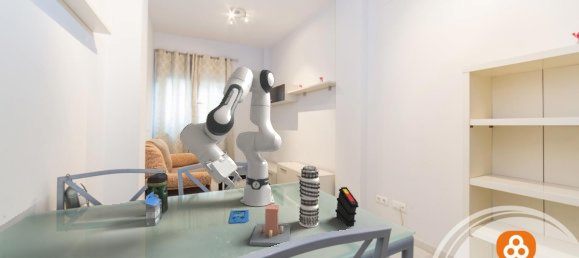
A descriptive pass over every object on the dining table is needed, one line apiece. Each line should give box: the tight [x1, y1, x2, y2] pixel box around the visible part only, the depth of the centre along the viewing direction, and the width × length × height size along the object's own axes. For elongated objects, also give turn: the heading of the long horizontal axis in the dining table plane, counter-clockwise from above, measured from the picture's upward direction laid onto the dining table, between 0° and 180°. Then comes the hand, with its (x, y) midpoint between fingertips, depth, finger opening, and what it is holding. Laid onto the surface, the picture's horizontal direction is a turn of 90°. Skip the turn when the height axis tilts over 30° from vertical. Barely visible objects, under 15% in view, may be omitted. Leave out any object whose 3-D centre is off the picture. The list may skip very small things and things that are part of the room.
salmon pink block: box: [264, 204, 279, 236], centre depth 94 cm, size 5×5×10 cm
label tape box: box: [145, 191, 163, 227], centre depth 105 cm, size 9×4×12 cm, turn 12°
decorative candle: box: [298, 165, 321, 228], centre depth 106 cm, size 9×9×25 cm
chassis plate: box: [249, 223, 291, 247], centre depth 94 cm, size 16×14×4 cm
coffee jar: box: [146, 172, 169, 215], centre depth 116 cm, size 10×8×19 cm
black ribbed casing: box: [335, 186, 360, 227], centre depth 109 cm, size 4×13×15 cm, turn 18°
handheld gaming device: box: [228, 209, 250, 225], centre depth 113 cm, size 8×1×15 cm
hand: (237, 183), depth 95 cm, fingers open, 8 cm apart
